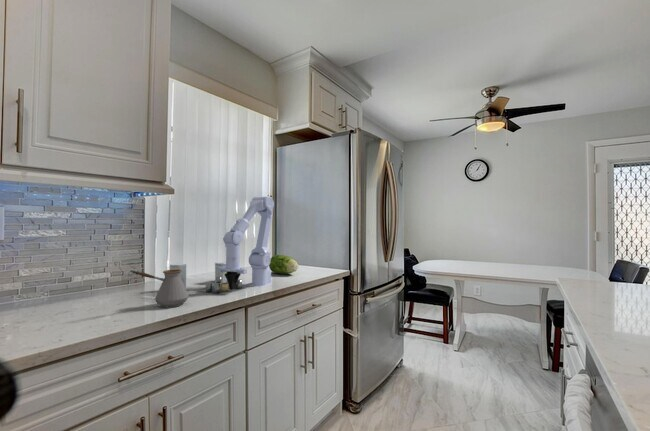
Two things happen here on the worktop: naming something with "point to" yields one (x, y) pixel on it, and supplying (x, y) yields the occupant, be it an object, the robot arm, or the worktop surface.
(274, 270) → the lettuce
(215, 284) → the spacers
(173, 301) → the coffee pot
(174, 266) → the skincare box
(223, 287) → the nut
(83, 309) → the worktop surface
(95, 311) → the worktop surface
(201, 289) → the mat
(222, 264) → the light bulb box
